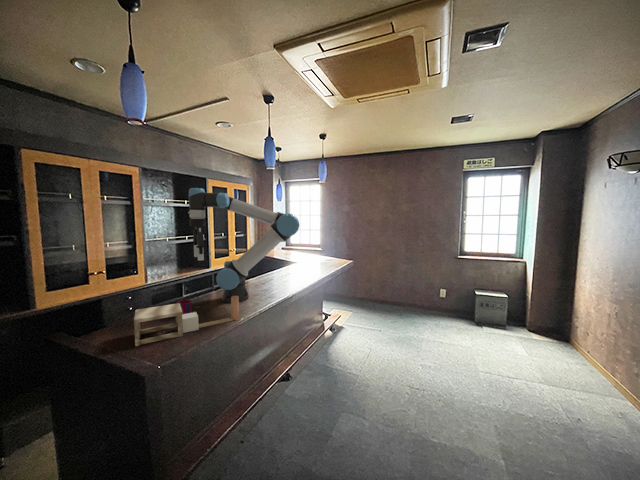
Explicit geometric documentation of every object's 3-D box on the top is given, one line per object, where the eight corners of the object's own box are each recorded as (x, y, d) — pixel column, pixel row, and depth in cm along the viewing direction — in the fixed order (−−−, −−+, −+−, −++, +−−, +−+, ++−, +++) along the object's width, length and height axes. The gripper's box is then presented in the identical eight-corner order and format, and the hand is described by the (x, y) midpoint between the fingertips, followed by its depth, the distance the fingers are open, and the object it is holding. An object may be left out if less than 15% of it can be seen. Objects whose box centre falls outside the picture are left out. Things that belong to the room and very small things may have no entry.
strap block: (237, 316, 125) (236, 294, 124) (240, 320, 120) (240, 297, 119) (181, 327, 112) (180, 303, 111) (183, 333, 107) (182, 307, 106)
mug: (194, 313, 128) (194, 300, 128) (177, 321, 119) (176, 306, 118) (185, 311, 131) (184, 298, 130) (167, 318, 122) (166, 305, 121)
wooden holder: (180, 325, 115) (179, 303, 114) (183, 335, 104) (182, 311, 103) (137, 333, 106) (135, 309, 105) (135, 346, 95) (133, 320, 95)
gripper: (186, 218, 141) (188, 255, 143) (192, 218, 120) (194, 262, 122) (201, 218, 145) (202, 254, 147) (209, 218, 125) (210, 261, 126)
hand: (198, 258), depth 135 cm, fingers open, 13 cm apart
